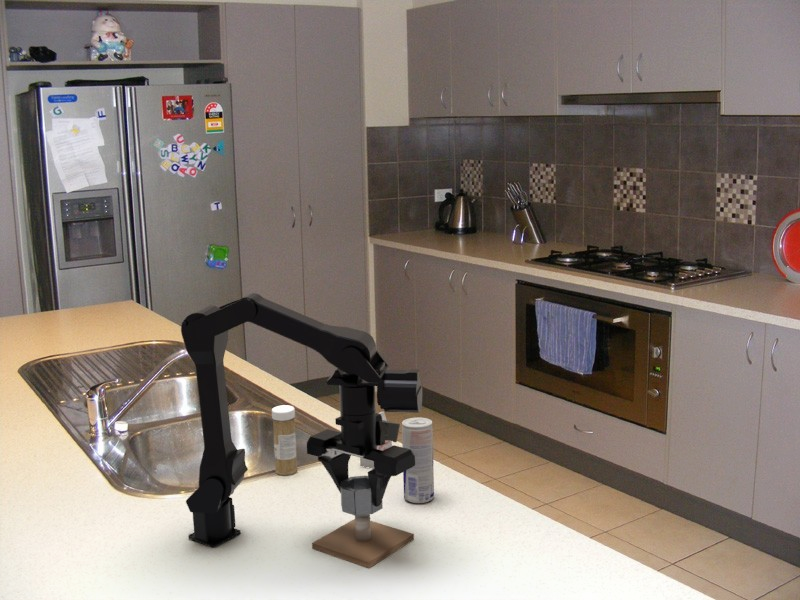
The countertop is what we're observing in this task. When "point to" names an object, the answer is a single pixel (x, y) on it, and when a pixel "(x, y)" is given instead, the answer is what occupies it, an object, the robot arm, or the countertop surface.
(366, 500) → the ring
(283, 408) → the sprinkles bottle
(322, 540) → the brown peg base
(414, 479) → the beverage can
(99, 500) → the countertop surface
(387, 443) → the mini juice carton
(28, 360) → the countertop surface
